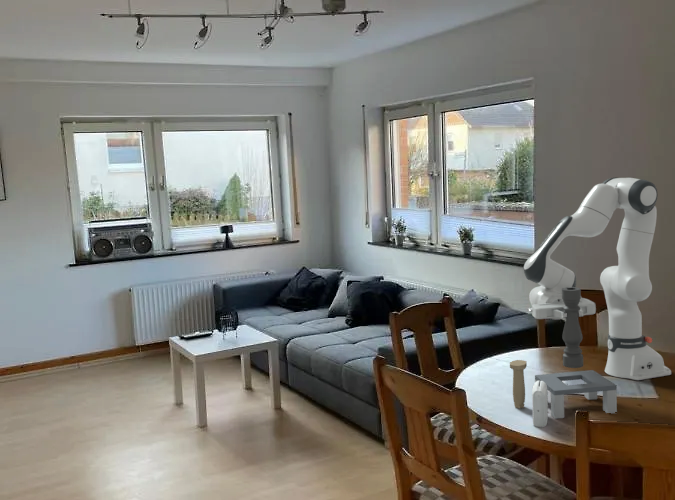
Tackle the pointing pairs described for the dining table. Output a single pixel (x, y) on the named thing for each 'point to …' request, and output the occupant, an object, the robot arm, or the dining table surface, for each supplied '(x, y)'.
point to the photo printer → (540, 404)
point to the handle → (518, 382)
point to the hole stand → (579, 389)
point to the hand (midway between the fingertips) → (573, 314)
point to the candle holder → (572, 328)
